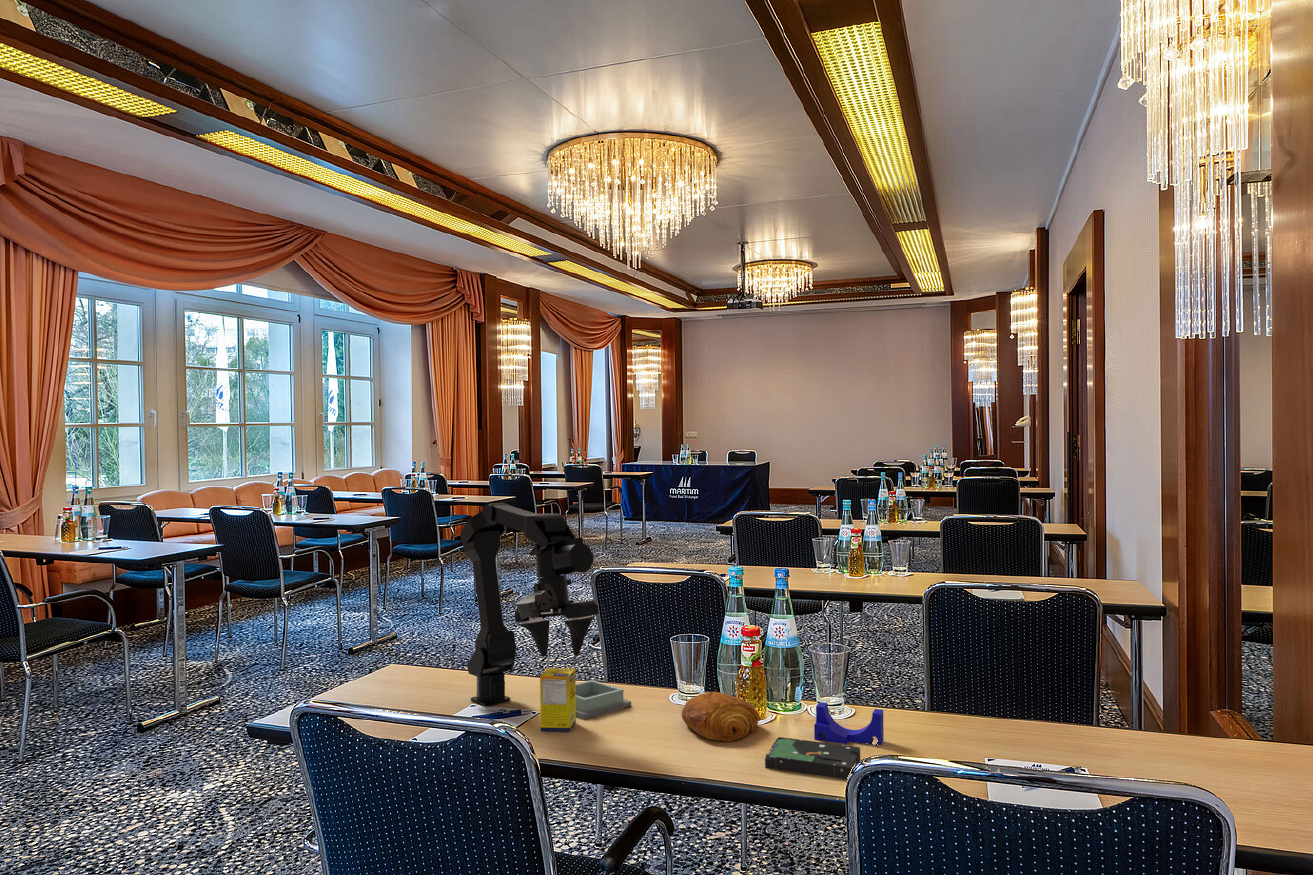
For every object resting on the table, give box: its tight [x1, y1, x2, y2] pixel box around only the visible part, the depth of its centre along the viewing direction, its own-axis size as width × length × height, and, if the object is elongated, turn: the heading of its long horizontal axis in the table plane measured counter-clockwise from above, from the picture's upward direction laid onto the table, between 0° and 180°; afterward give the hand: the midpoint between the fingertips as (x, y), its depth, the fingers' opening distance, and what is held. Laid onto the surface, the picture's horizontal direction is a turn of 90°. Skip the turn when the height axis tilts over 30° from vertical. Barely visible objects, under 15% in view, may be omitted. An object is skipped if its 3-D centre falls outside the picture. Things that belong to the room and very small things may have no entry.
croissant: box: [681, 691, 761, 742], centre depth 159 cm, size 14×16×8 cm
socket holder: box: [576, 679, 632, 720], centre depth 174 cm, size 13×13×4 cm
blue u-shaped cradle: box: [813, 701, 885, 746], centre depth 152 cm, size 12×4×6 cm, turn 65°
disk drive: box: [764, 736, 861, 781], centre depth 141 cm, size 10×3×15 cm
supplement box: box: [539, 667, 577, 733], centre depth 160 cm, size 6×6×11 cm
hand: (560, 655), depth 160 cm, fingers open, 9 cm apart
